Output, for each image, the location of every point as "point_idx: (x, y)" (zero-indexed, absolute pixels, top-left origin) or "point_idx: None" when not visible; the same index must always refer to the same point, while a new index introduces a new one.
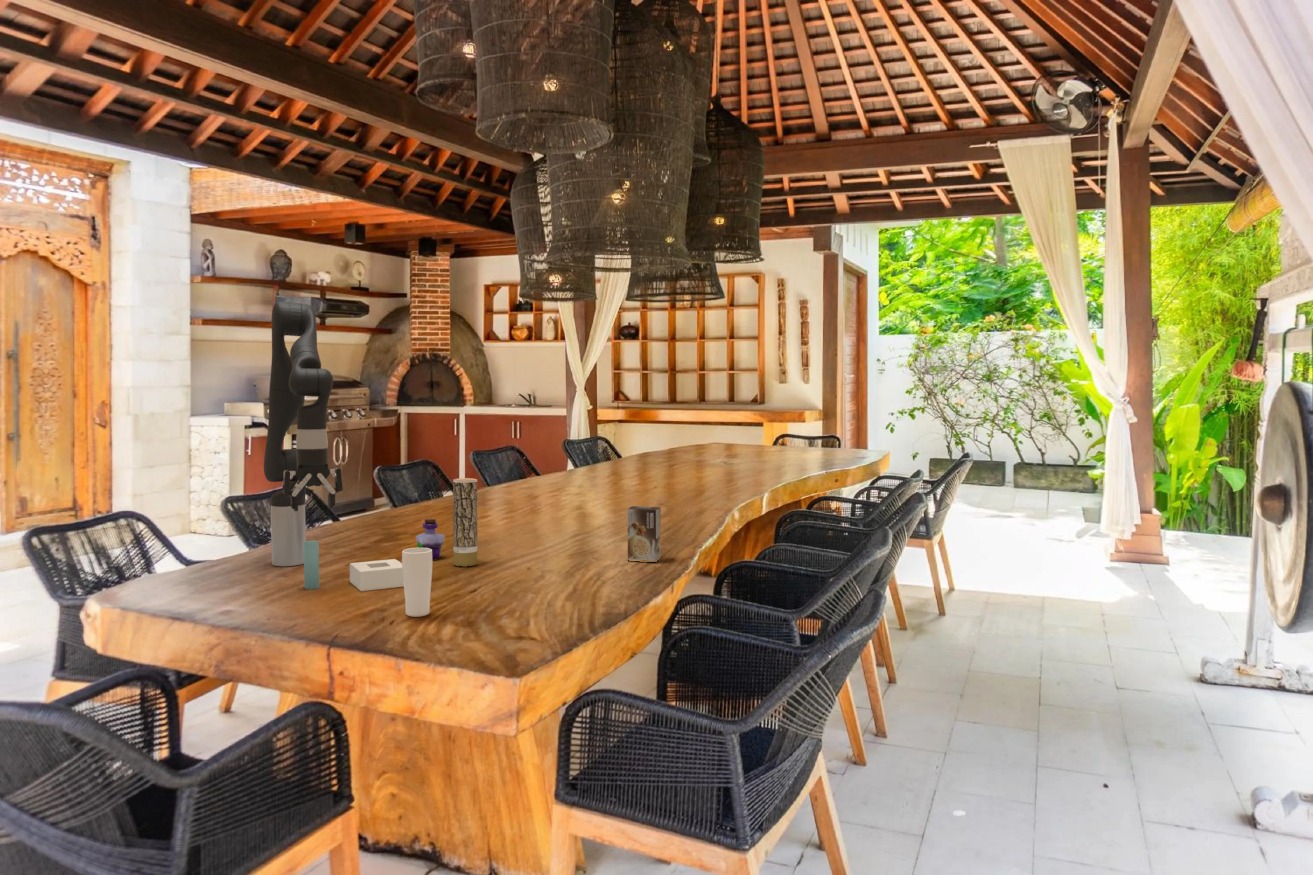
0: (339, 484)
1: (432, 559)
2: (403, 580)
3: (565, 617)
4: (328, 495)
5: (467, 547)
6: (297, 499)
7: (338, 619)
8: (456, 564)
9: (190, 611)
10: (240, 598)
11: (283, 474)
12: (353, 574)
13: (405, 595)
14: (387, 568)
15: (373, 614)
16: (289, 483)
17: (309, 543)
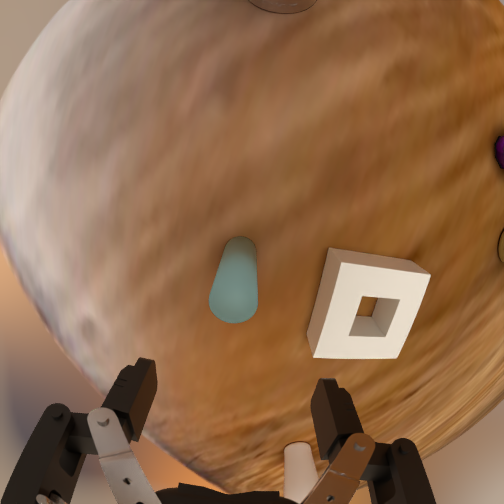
0: (381, 496)
1: (502, 167)
2: (284, 479)
3: None
4: (331, 434)
5: None
6: (140, 430)
7: (214, 430)
8: (499, 247)
9: (50, 294)
10: (104, 258)
11: (10, 493)
12: (326, 291)
13: (284, 466)
14: (367, 353)
15: (257, 433)
16: (73, 488)
17: (221, 318)
